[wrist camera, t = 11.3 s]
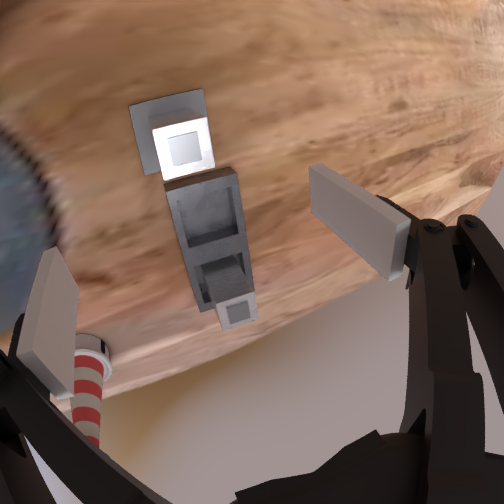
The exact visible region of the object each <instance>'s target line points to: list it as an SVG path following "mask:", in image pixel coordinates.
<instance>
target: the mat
mask: <svg viewBox="0 0 504 504" xmlns="http://www.w3.org/2000/svg"><path fill="white" fill-rule="evenodd" d="M185 108H191V109H192V110H194V111H196V112H198V113H200V114H202V115H203V116H205V117H207V111H206V105H205V99H204V93H203V89H198V90H193V91H188V92H184V93H179V94H175V95H170V96H166V97H162V98H158V99H154V100H150V101H146V102H142V103H139V104H135V105H131V106H129V110H130V115H131V119H132V124H133V128H134V133H135V137H136V141H137V145H138V149H139V153H140V157H141V161H142V165H143V169H144V173H145V176H146V175H149V174H153V173H156V172H160V171H161V169H160V166H159V162H158V159H157V156H156V151H155V147H154V142H153V138H152V133H151V129H150V124H149V120H148V117H152V116H156V115H160V114H164V113H168V112H172V111H176V110H181V109H185ZM207 123H208V117H207ZM208 129H209V123H208ZM209 135H210V129H209ZM210 141H211V135H210ZM211 147H212V141H211ZM212 153H213V157H214V152H213V147H212Z"/></svg>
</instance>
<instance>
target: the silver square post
mask: <svg viewBox="0 0 504 504" xmlns="http://www.w3.org/2000/svg"><path fill="white" fill-rule="evenodd" d="M200 268H201V272H202V276H203V279H204V283H205V287H206V289H207V292H208V295H209V297H210V300H211V302H212V305H213V307H214V310H215V312H216V315H217V317H218V320H219V322H220V325H221V327H222V330H223V331H225V330H228V329H231V328H234V327H237V326H240V325H243V324H246V323H249V322H252V321H255V320H258V319H259V318H258V311H257V304H256V298H255V291H254V290H253V288H252V286H251V285H250V283H249V281H248V279H247V278H246V276H245V274H244V273H243V271H242V269H241V267H240V266H239V264H238V262H237V260H236V259H235V257H234V255H230V256H227V257H224V258H221V259H217V260H214V261H211V262H207V263H204V264H201V265H200Z"/></svg>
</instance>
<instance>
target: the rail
mask: <svg viewBox="0 0 504 504" xmlns="http://www.w3.org/2000/svg"><path fill="white" fill-rule="evenodd" d="M164 188H165V192H166V196H167V200H168V203H169V207H170V211H171V215H172V219H173V222H174V226H175V230H176V233H177V237H178V241H179V244H180V248H181V251H182V255H183V258H184V262H185V265H186V269H187V272H188V275H189V279H190V282H191V285H192V289H193V292H194V295H195V298H196V302H197V305H198V307H199V310H200V313H201V312H204V311H207V310H210V309H214V307H213V305H212V302H211V300H210V297H209V295H208V292H207V289H206V287H205V283H204V279H203V276H202V272H201V268H200V265H201V264H204V263H207V262H211V261H214V260H217V259H221V258H224V257H227V256H230V255H234V257H235V259H236V260H237V262H238V264H239V266H240V267H241V269H242V271H243V273H244V274H245V276H246V278H247V279H248V281H249V283H250V285H251V286H252V288H253V290H254V291H255V289H254V283H253V276H252V269H251V263H250V256H249V249H248V243H247V236H246V230H245V223H244V216H243V210H242V203H241V196H240V190H239V183H238V176H237V173H236V172H235V171H234V170H233V169H232V168H231V167H227V168H223V169H219V170H215V171H211V172H207V173H203V174H199V175H196V176H192V177H188V178H184V179H181V180H177V181H173V182H170V183H166V184H164Z"/></svg>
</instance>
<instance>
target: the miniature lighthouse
mask: <svg viewBox="0 0 504 504" xmlns="http://www.w3.org/2000/svg"><path fill="white" fill-rule="evenodd" d="M112 371H113V367H112V364H111V362H110V361H109V351H108V349H107V346H106V344H105V342H104V341H102V340H100V339H99V338H97V337H94V336H92V335H87V334H78V335H76V337H75V358H74V396H73V397H70V403H71V410H72V418H73V425H74V426H76V427H77V428H78V429H79V430H80V431H81V432H82V433H83V434H84V435H85V436H86V437H87V438H88V439H89V440H90V441H91V442H93V443H94V444H95V445H96V446H97V447H98V448H99V436H100V433H99V432H100V414H101V399H102V386H103V382H105V381H107V380H108V379H109V378H110V376H111V374H112ZM105 454H106V453H105ZM106 455H107V454H106ZM107 456H108V455H107Z"/></svg>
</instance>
